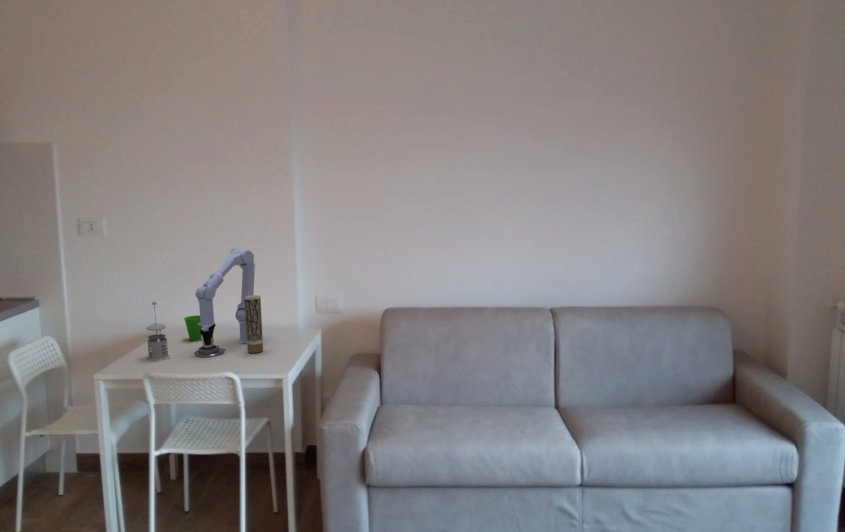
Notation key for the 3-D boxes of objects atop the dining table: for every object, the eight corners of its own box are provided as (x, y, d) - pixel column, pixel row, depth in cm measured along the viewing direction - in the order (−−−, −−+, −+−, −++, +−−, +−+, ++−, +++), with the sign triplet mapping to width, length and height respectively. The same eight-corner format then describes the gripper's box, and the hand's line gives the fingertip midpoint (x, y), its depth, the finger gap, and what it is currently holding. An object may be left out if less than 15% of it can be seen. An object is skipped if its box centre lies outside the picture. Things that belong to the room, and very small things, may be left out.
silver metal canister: (204, 350, 286) (203, 337, 285) (215, 350, 286) (214, 337, 285) (202, 353, 281) (201, 340, 280) (213, 353, 282) (212, 339, 281)
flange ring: (225, 348, 291) (225, 342, 291) (223, 356, 279) (223, 350, 278) (196, 350, 289) (195, 344, 288) (192, 358, 276) (191, 352, 276)
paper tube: (259, 354, 281) (256, 298, 277) (244, 353, 282) (241, 298, 279) (265, 349, 288) (262, 295, 284) (251, 349, 289) (248, 295, 285)
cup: (208, 337, 310) (207, 315, 308) (200, 342, 301) (198, 319, 299) (190, 337, 311) (189, 315, 309) (182, 342, 302) (180, 319, 300)
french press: (144, 362, 272) (140, 304, 268) (148, 354, 283) (144, 299, 279) (169, 360, 274) (164, 303, 270) (172, 352, 285) (168, 297, 281)
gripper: (199, 310, 287) (201, 339, 289) (195, 317, 273) (197, 348, 275) (215, 309, 289) (217, 338, 291) (212, 316, 275) (214, 346, 277)
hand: (208, 342), depth 283 cm, fingers open, 7 cm apart
